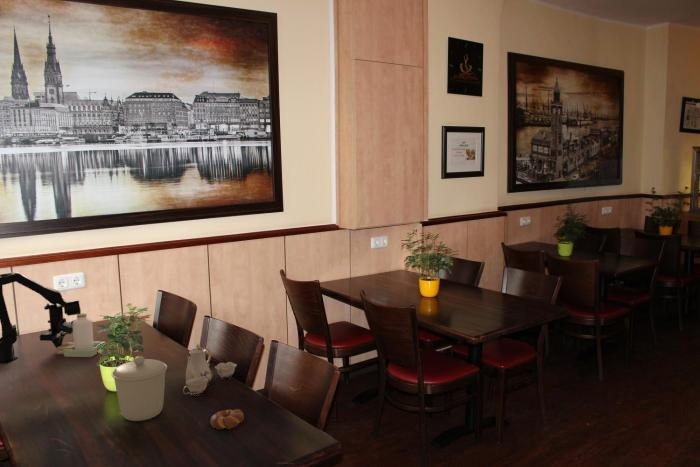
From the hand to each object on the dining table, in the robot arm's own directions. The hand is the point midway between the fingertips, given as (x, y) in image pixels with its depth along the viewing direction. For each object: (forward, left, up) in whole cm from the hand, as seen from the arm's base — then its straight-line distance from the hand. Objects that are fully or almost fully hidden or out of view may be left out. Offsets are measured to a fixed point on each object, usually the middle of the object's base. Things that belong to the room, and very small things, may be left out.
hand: (59, 349), depth 267 cm
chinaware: (-35, -84, -1) cm, 90 cm away
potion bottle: (0, -12, -1) cm, 12 cm away
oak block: (+1, -5, -1) cm, 5 cm away
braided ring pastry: (-67, -103, -2) cm, 123 cm away
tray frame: (0, -13, -1) cm, 13 cm away
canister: (-63, -71, -1) cm, 95 cm away
